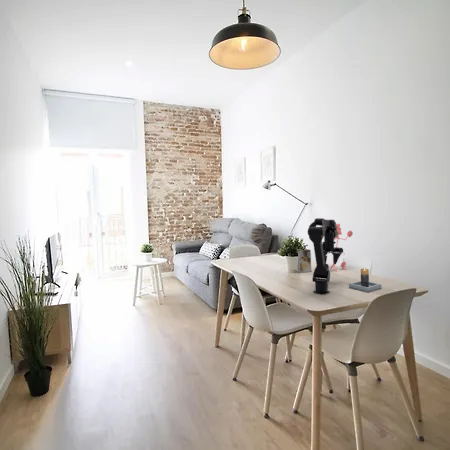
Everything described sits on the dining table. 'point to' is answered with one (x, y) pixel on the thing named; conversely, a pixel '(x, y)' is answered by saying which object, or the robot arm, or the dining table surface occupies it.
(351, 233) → the pink flower sprig
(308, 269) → the coffee box
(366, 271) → the big battery
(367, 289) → the grey tray
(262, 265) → the dining table surface
